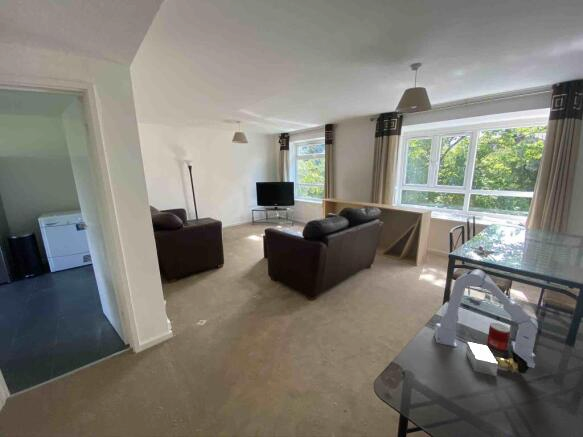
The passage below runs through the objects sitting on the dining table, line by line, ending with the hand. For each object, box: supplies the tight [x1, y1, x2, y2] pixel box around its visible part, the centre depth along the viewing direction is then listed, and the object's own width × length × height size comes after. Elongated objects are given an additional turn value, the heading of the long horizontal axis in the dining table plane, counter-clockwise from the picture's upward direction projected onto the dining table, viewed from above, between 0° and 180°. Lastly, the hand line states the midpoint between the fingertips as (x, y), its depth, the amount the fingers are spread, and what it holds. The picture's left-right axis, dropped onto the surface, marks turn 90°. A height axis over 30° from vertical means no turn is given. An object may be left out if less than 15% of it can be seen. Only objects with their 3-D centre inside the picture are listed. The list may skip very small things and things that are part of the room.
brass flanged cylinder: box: [494, 356, 518, 373], centre depth 108 cm, size 10×6×6 cm, turn 69°
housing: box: [465, 341, 499, 377], centre depth 112 cm, size 8×12×6 cm, turn 159°
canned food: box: [486, 322, 511, 352], centre depth 123 cm, size 8×8×11 cm
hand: (519, 369), depth 107 cm, fingers closed on brass flanged cylinder, 3 cm apart
